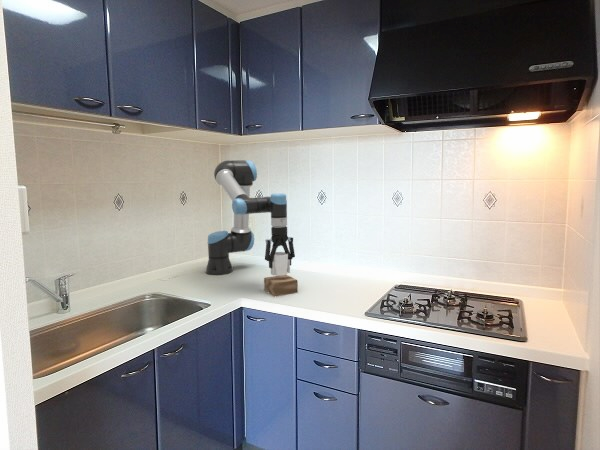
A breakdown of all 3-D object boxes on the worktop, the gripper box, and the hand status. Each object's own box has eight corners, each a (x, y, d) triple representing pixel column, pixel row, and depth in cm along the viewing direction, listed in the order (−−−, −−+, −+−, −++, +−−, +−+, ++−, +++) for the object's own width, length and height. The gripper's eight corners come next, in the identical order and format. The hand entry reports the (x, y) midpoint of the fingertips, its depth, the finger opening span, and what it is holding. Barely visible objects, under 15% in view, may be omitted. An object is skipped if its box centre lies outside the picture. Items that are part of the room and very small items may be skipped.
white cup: (280, 271, 191) (279, 251, 190) (291, 273, 186) (291, 253, 185) (268, 274, 185) (268, 253, 184) (280, 277, 180) (280, 256, 179)
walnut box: (264, 290, 189) (264, 277, 188) (286, 286, 195) (286, 274, 194) (274, 296, 179) (274, 283, 178) (297, 292, 184) (297, 279, 184)
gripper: (262, 229, 174) (264, 278, 177) (301, 225, 184) (302, 272, 187) (256, 227, 181) (257, 274, 184) (294, 223, 191) (295, 269, 194)
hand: (280, 273), depth 186 cm, fingers closed on white cup, 7 cm apart
